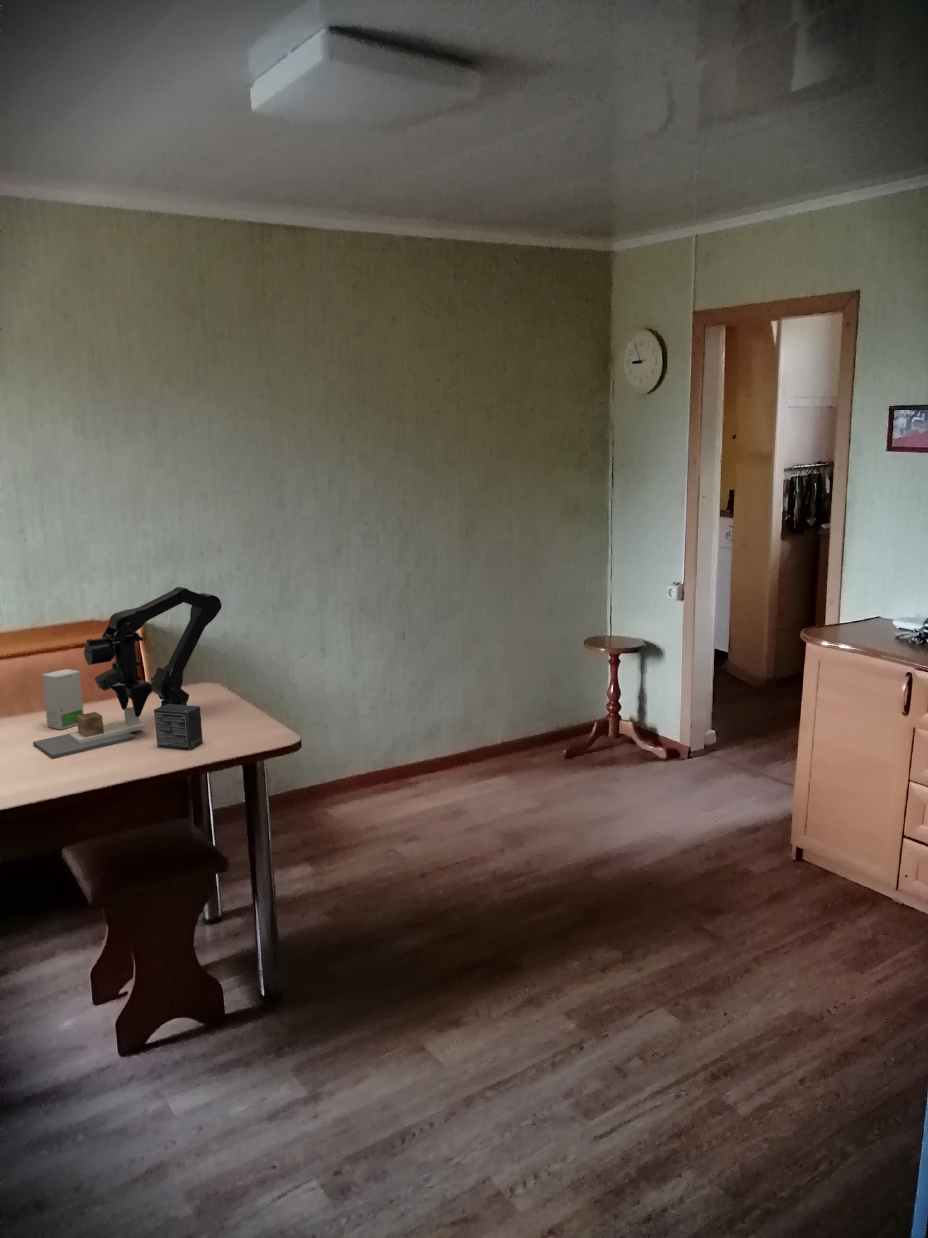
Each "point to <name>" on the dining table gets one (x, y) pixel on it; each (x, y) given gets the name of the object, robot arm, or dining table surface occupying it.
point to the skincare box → (62, 698)
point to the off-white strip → (114, 728)
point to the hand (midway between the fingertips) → (131, 713)
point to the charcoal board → (76, 744)
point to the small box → (178, 726)
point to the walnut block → (90, 724)
